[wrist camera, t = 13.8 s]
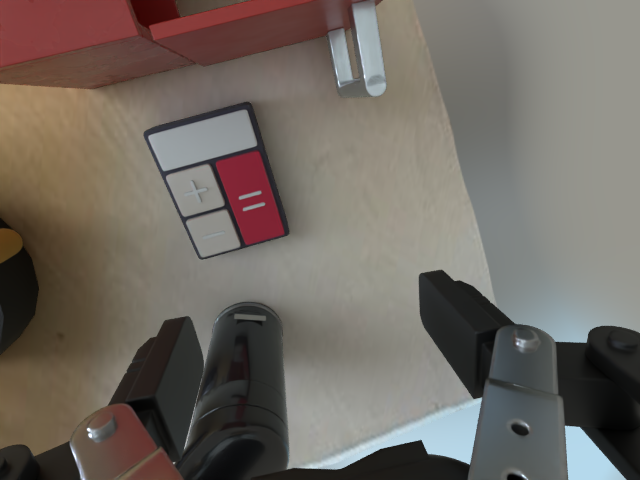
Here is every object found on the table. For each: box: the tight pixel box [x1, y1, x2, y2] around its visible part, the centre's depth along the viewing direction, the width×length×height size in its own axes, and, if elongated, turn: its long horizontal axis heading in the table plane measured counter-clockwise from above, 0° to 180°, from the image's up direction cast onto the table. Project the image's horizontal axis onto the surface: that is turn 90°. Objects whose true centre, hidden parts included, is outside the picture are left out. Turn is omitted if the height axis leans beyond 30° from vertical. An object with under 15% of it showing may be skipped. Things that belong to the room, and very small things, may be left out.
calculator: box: [144, 102, 289, 259], centre depth 39 cm, size 11×4×15 cm
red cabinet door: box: [149, 0, 387, 98], centre depth 30 cm, size 7×16×17 cm, turn 103°
